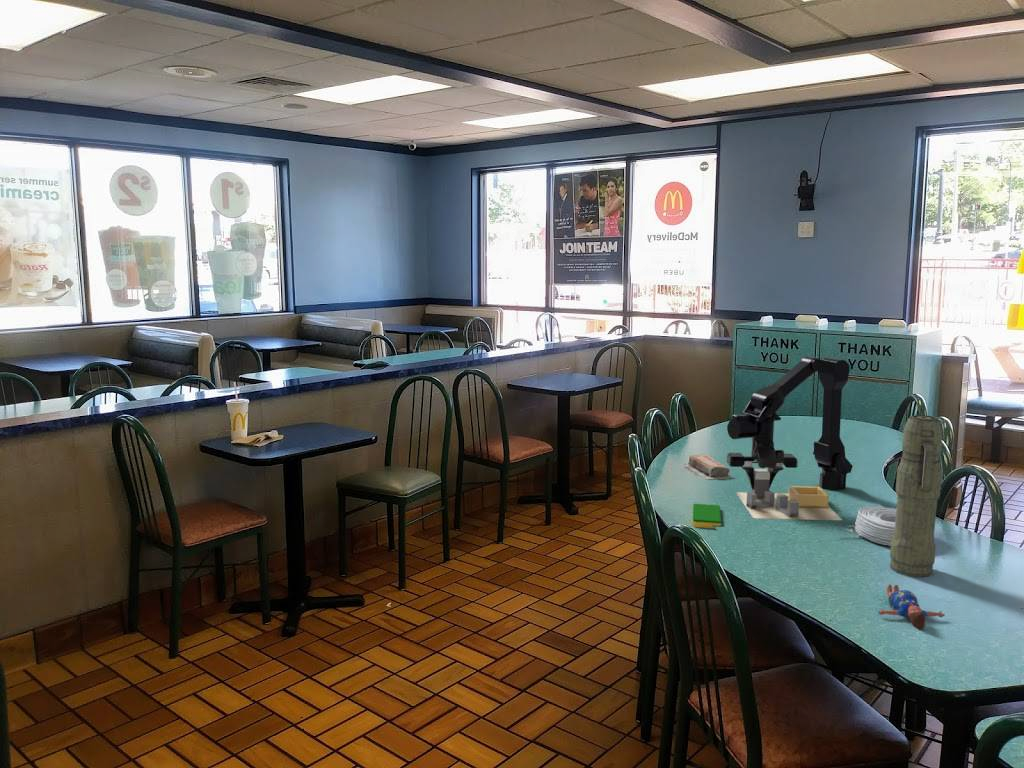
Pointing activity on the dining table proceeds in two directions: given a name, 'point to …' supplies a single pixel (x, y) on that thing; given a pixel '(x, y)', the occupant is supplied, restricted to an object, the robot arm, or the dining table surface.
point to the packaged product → (707, 467)
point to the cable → (875, 524)
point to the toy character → (907, 606)
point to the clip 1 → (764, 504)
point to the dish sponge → (706, 515)
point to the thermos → (917, 497)
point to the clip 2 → (787, 506)
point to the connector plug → (761, 481)
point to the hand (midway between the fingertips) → (760, 489)
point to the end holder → (808, 496)
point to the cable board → (775, 514)
